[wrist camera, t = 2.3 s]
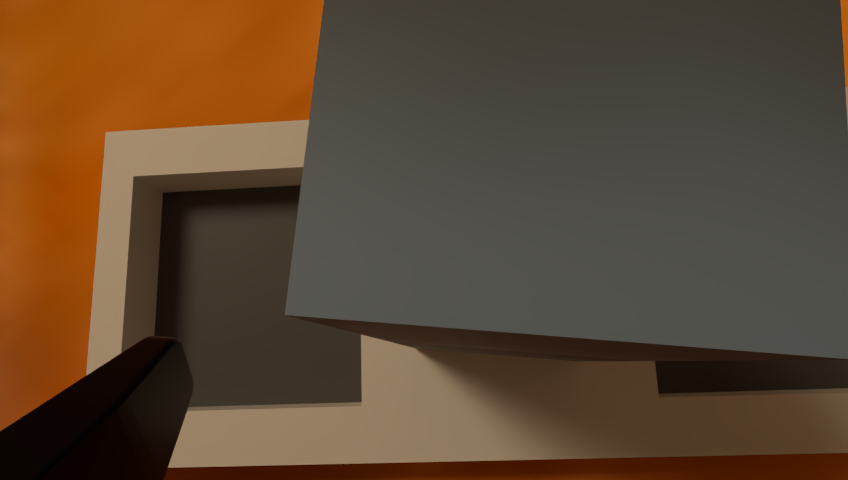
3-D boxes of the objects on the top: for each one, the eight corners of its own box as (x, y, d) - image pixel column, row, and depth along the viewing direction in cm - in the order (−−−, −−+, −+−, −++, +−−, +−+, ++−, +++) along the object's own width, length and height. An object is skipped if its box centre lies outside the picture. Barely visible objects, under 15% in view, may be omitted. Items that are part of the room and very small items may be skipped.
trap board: (1101, 98, 19) (1196, 58, 16) (1195, 433, 17) (1320, 446, 14) (140, 153, 21) (95, 125, 18) (119, 458, 19) (66, 472, 16)
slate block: (578, 361, 16) (861, 359, 5) (414, 348, 17) (284, 315, 5) (583, 201, 17) (831, -146, 5) (427, 192, 18) (343, -150, 6)
